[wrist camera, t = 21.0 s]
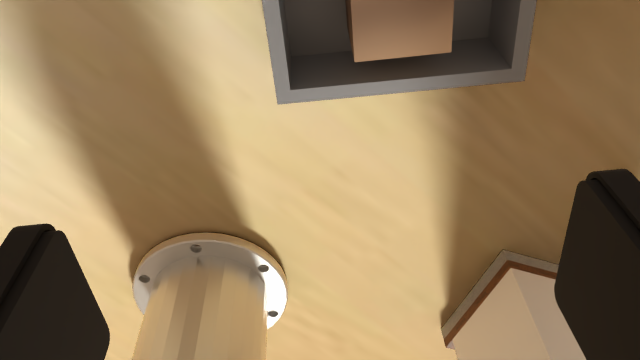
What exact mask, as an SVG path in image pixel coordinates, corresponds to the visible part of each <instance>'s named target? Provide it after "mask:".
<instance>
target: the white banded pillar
mask: <svg viewBox="0 0 640 360" xmlns="http://www.w3.org/2000/svg"><path fill="white" fill-rule="evenodd" d="M558 267H559V265H558V264H554V263H550V262H547V261H543V260H539V259H536V258H532V257H528V256H525V255H521V254H517V253H514V252H510V251H506V250H502V251H501V253H500V254H499V255H498V256H497V258H496V259H495V260H494V262H493V263H492V264H491V265H490V267H489V268H488V269H487V271H486V272H485V273H484V274H483V276H482V277H481V278H480V280H479V281H478V282H477V283H476V285H475V286H474V287H473V289H472V290H471V291H470V292H469V294H468V295H467V296H466V298H465V299H464V300H463V301H462V303H461V304H460V305H459V307H458V308H457V309H456V310H455V312H454V313H453V314H452V316H451V317H450V318H449V319H448V321H447V322H446V323H445V324H444V326H443V327H442V328H441V331H442V334H443V338H444V342H445V346H446V348H450V349H455V351H456V355H457V359H458V360H586V358H585V356H584V354H583V352H582V350H581V349H580V347H579V345H578V343H577V341H576V339H575V337H574V335H573V333H572V331H571V330H570V328H569V326H568V324H567V322H566V320H565V318H564V316H563V314H562V313H561V311H560V309H559V307H558V305H557V302H556V299H555V294H554V285H555V280H556V276H557V271H558Z"/></svg>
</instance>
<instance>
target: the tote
mask: <svg viewBox="0 0 640 360" xmlns="http://www.w3.org/2000/svg"><path fill="white" fill-rule="evenodd" d="M536 2H537V0H454V12H453V31H452V50H451V52H450V53H440V54H430V55H421V56H411V57H401V58H392V59H382V60H372V61H363V62H354V57H353V52H352V48H351V43H350V38H349V33H348V28H347V16H346V1H345V0H262V4H263V11H264V18H265V24H266V31H267V37H268V44H269V51H270V57H271V64H272V70H273V77H274V84H275V90H276V97H277V103H278V104H288V103H299V102H309V101H320V100H330V99H341V98H351V97H362V96H372V95H383V94H393V93H404V92H414V91H425V90H435V89H446V88H456V87H467V86H477V85H488V84H498V83H509V82H520V81H525V75H526V68H527V61H528V55H529V48H530V41H531V35H532V28H533V22H534V15H535V8H536Z"/></svg>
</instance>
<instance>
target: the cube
mask: <svg viewBox="0 0 640 360" xmlns="http://www.w3.org/2000/svg"><path fill="white" fill-rule="evenodd" d="M345 1H346V16H347V28H348V33H349V38H350V43H351V48H352V52H353V57H354V62H363V61H372V60H382V59H392V58H401V57H411V56H421V55H430V54H440V53H450V52H451V50H452V31H453V12H454V0H345Z"/></svg>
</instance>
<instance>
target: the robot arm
mask: <svg viewBox="0 0 640 360" xmlns="http://www.w3.org/2000/svg"><path fill="white" fill-rule="evenodd" d="M132 289H133V295H134V299H135V302H136V304H137V306H138V308H139V309H140V311H141V312H142V313H143V315H144V317H143V321H142V325H141V328H140V332H139V335H138V339H137V342H136V346H135V350H134V353H133V357H132V360H266V344H267V329H269V328H270V327H271V326H273V325H274V324H275V323H276V322H277V321H278V319H279V318H280V317H281V315H282V314H283V312H284V310H285V307H286V303H287V299H288V286H287V280H286V276H285V274H284V272H283V270H282V268H281V266H280V265H279V264H278V263H277V261H276V260H275V259H274V258H273V257H272V256H271V255H270V254H269V253H267V252H266V251H265V250H264V249H262V248H260V247H258V246H257V245H255V244H253V243H251V242H249V241H246V240H244V239H241V238H238V237H234V236H230V235H226V234H218V233H191V234H186V235H181V236H177V237H174V238H171V239H169V240H166V241H163V242H162V243H160V244H159V245H157V246H155V247H154V248H152V249H151V250H150V251H149V252H148V253H147V254H146V255H145V256H144V257H143V259H142V260H141V262H140V263H139V265H138V267H137V270H136V273H135V276H134V280H133V287H132ZM554 294H555V299H556V302H557V305H558V307H559V309H560V311H561V313H562V314H563V316H564V318H565V320H566V322H567V324H568V326H569V328H570V330H571V331H572V333H573V335H574V337H575V339H576V341H577V343H578V345H579V347H580V349H581V350H582V352H583V354H584V356H585V358H586V360H640V182H639V181H638V180H637V178H636V177H635V176H634V175H633V174H632V173H631V172H630V171H628V170H626V169H616V170H606V171H595V172H591V173H590V174H589V175H588V176H587V179H586V181H581V182H579V184H578V186H577V189H576V193H575V198H574V202H573V206H572V211H571V215H570V219H569V224H568V228H567V232H566V237H565V241H564V245H563V250H562V254H561V258H560V263H559V267H558V271H557V276H556V280H555V285H554ZM109 341H110V333H109V328H108V325H107V323H106V321H105V319H104V317H103V315H102V312H101V310H100V308H99V306H98V304H97V302H96V300H95V297H94V295H93V293H92V291H91V289H90V287H89V284H88V282H87V280H86V278H85V276H84V274H83V272H82V269H81V267H80V265H79V263H78V261H77V259H76V257H75V254H74V252H73V250H72V248H71V246H70V244H69V242H68V239H67V237H66V235H65V234H64V233H63V232H62V231H59V230H58V231H56V230H55V228H54V227H53V226H52V225H51V224H37V225H27V226H17V227H15V228H13V229H12V230H11V231H10V232H9V234H8V235H7V237H6V239H5V240H4V242H3V243H2V245H1V246H0V360H104V359H105V356H106V353H107V350H108V346H109Z"/></svg>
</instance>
